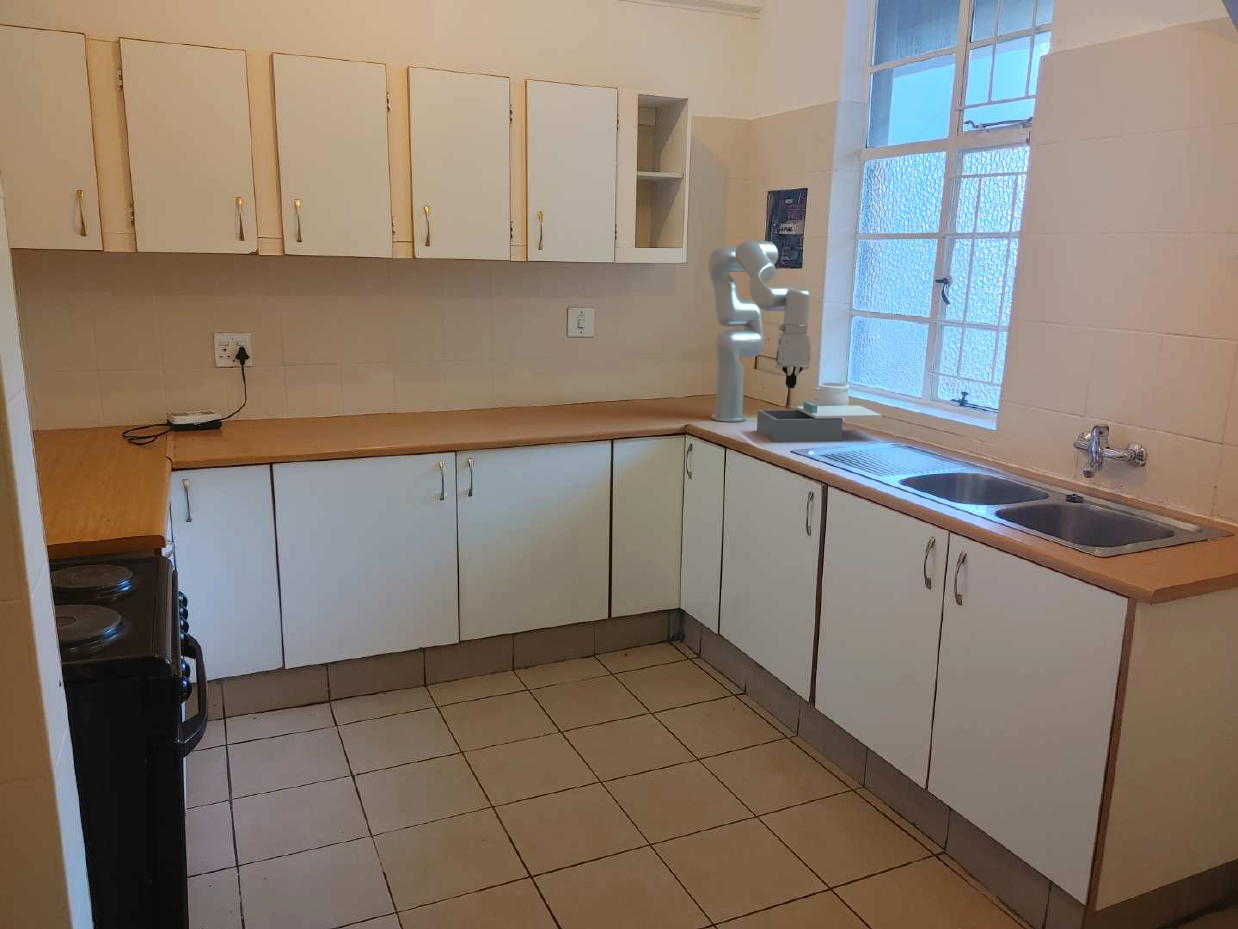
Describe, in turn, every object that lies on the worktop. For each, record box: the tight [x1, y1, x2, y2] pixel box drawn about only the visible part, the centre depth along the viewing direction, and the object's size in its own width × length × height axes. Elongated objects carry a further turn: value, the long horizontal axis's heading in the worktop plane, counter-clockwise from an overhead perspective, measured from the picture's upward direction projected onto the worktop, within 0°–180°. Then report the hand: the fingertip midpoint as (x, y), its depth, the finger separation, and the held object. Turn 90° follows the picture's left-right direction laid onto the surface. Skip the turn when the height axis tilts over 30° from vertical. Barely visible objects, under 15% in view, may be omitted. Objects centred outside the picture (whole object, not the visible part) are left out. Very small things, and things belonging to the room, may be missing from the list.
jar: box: [816, 382, 850, 428], centre depth 313 cm, size 11×10×15 cm
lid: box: [795, 401, 883, 419], centre depth 295 cm, size 18×22×3 cm
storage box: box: [756, 409, 844, 443], centre depth 295 cm, size 18×22×8 cm
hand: (790, 387), depth 292 cm, fingers closed
